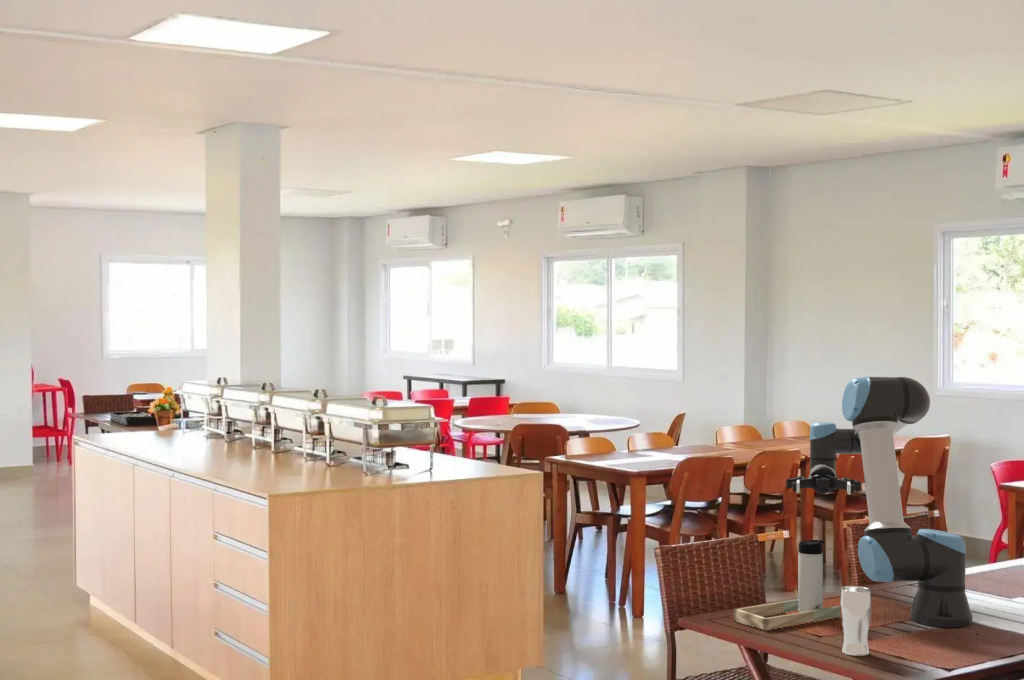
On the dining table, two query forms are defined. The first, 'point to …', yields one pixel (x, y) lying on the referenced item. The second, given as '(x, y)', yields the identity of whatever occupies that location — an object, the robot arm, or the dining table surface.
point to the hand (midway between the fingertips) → (823, 488)
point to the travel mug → (810, 575)
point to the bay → (757, 615)
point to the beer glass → (855, 619)
